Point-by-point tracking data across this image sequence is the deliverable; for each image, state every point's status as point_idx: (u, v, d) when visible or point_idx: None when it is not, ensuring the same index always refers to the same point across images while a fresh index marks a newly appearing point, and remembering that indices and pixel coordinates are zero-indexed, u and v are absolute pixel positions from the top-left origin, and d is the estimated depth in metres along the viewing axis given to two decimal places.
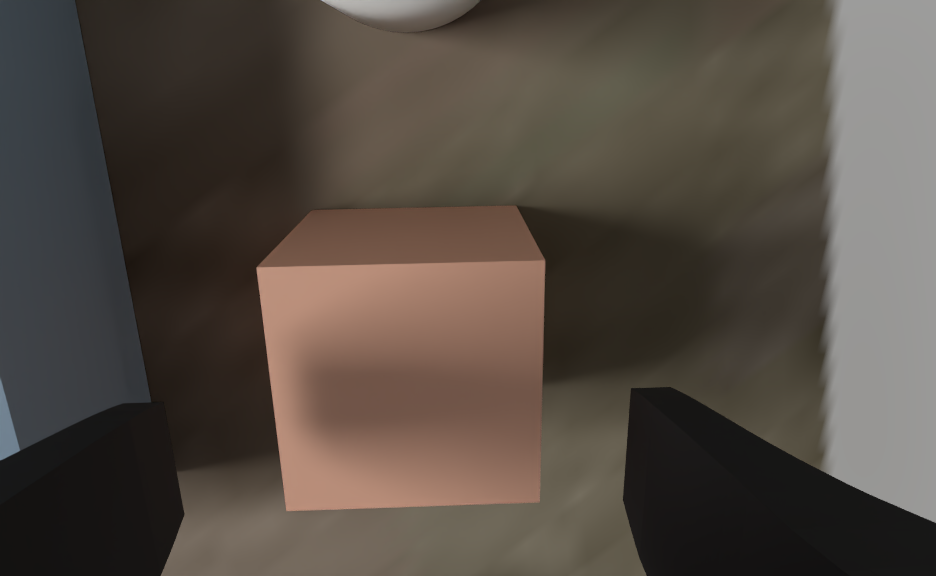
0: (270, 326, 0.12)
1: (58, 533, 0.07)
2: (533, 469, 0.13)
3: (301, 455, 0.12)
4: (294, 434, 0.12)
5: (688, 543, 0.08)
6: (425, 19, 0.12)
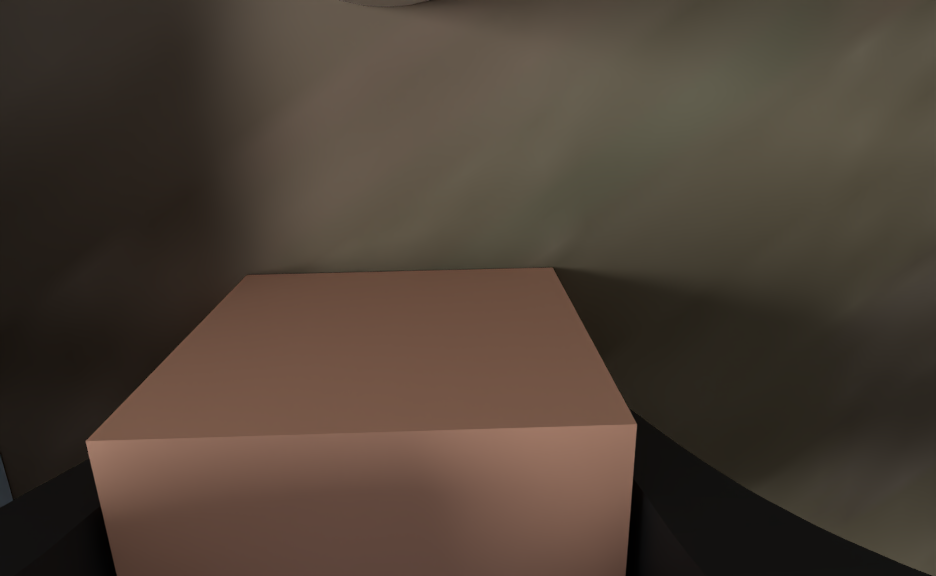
0: (123, 539, 0.06)
1: None
2: None
3: None
4: None
5: None
6: None
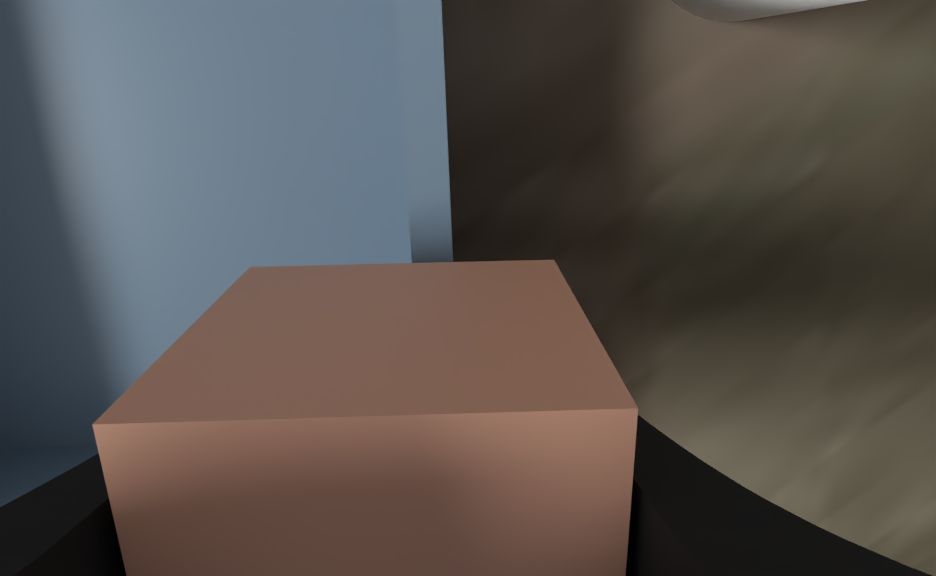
0: (128, 523, 0.06)
1: None
2: None
3: None
4: None
5: None
6: None
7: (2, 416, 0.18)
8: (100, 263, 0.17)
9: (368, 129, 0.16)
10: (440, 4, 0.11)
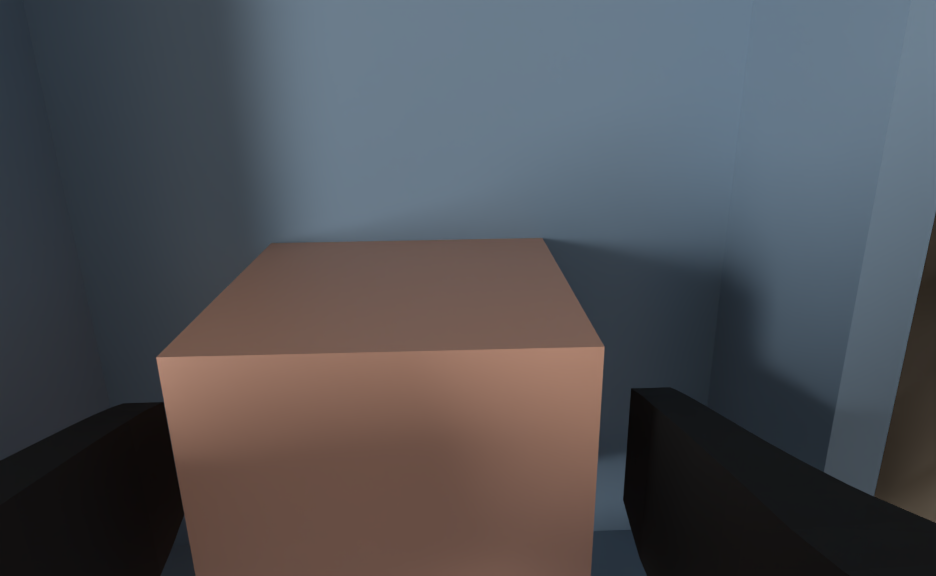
0: (182, 442, 0.08)
1: (58, 533, 0.07)
2: None
3: None
4: None
5: (688, 543, 0.08)
6: None
7: None
8: None
9: (676, 142, 0.12)
10: None
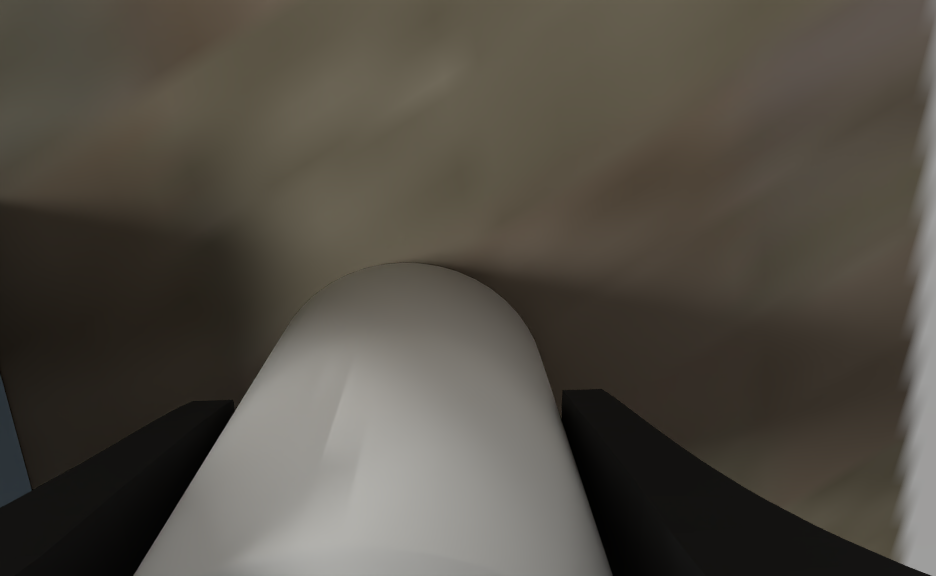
0: None
1: (151, 530, 0.07)
2: None
3: None
4: None
5: (603, 546, 0.08)
6: None
7: None
8: None
9: None
10: None
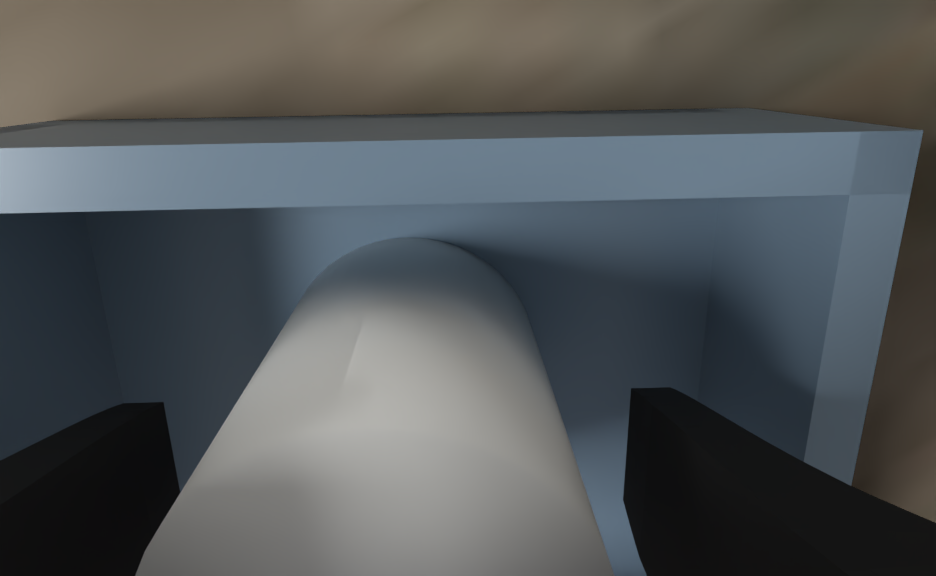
0: None
1: (58, 533, 0.07)
2: None
3: None
4: None
5: (688, 543, 0.08)
6: None
7: None
8: None
9: None
10: None
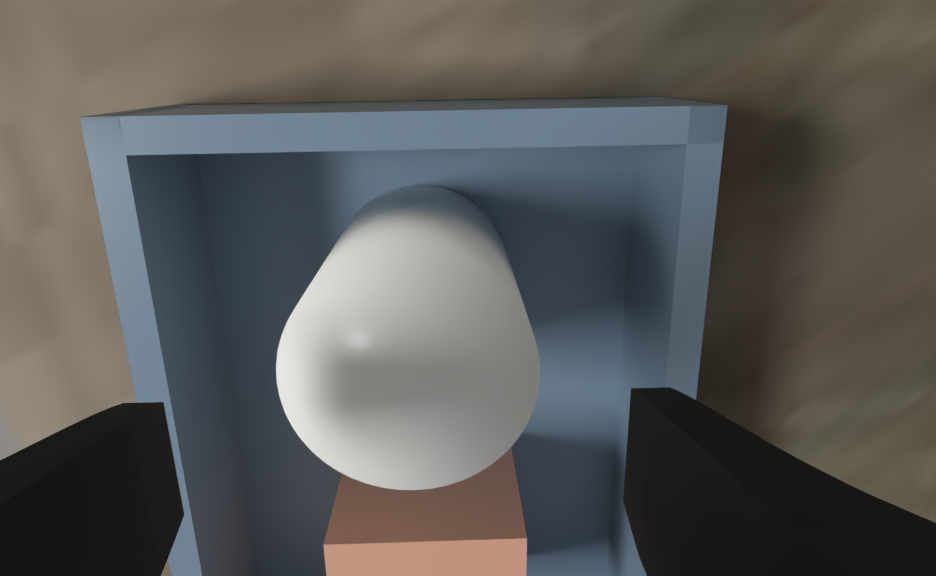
0: None
1: (57, 533, 0.07)
2: None
3: None
4: None
5: (688, 543, 0.08)
6: None
7: None
8: None
9: (584, 381, 0.20)
10: (698, 366, 0.16)
